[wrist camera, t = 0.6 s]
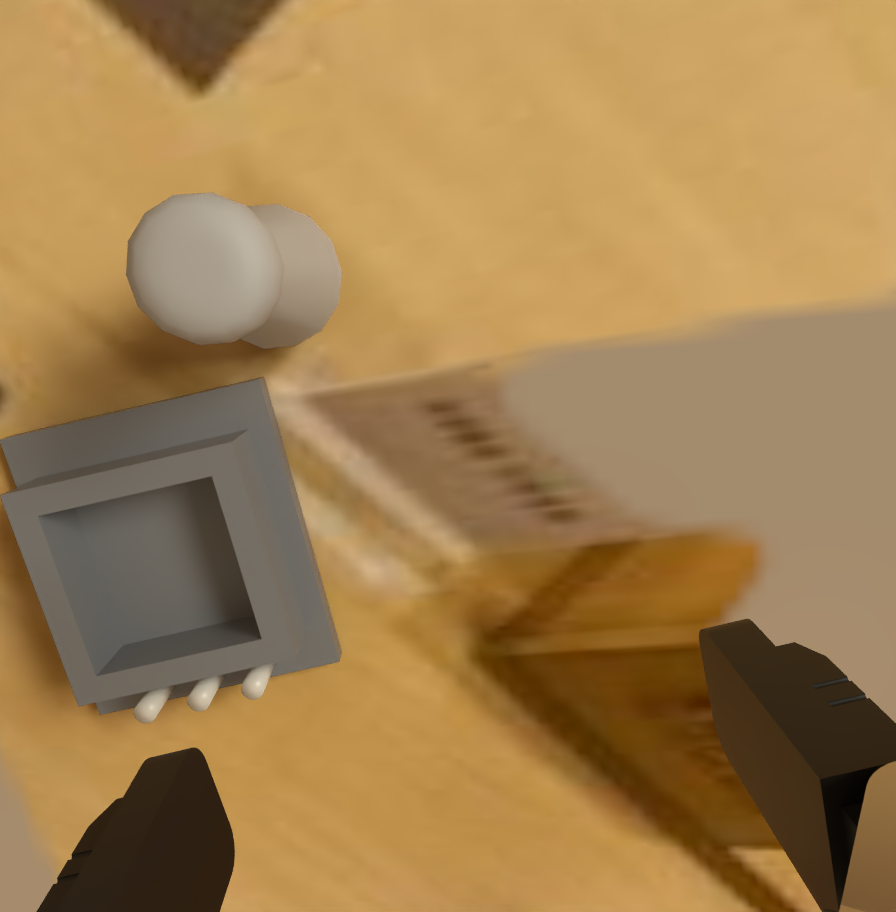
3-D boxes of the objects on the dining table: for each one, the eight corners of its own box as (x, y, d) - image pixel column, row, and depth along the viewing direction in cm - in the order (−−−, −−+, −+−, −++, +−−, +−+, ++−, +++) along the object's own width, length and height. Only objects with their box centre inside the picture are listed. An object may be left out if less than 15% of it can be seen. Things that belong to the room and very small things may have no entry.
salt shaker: (225, 348, 34) (102, 380, 21) (207, 216, 33) (66, 166, 20) (354, 339, 34) (309, 365, 21) (341, 206, 33) (286, 150, 20)
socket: (11, 435, 34) (-43, 454, 31) (263, 377, 34) (242, 387, 30) (108, 704, 37) (70, 751, 33) (341, 651, 37) (331, 694, 33)
